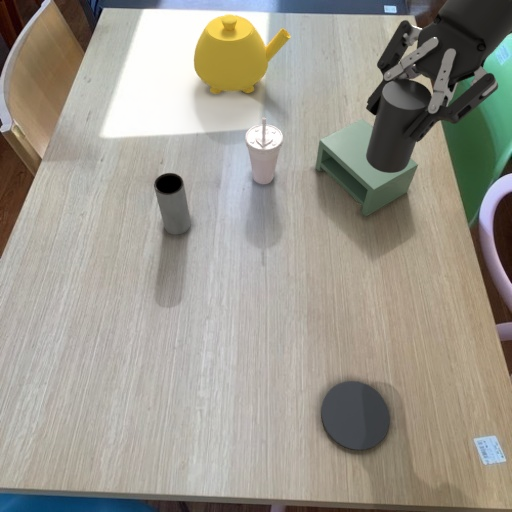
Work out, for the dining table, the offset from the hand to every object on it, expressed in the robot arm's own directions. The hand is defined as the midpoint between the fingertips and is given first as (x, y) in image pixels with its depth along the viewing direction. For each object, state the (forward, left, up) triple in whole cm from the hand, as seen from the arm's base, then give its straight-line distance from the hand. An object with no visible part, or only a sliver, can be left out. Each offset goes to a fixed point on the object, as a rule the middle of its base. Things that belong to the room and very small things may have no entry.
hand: (388, 125), depth 57 cm
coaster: (-16, +22, -26) cm, 38 cm away
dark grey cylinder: (-1, -2, -6) cm, 7 cm away
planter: (+25, +15, -26) cm, 39 cm away
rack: (+7, -14, -26) cm, 30 cm away
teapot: (+43, -22, -26) cm, 55 cm away
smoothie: (+21, -3, -26) cm, 34 cm away
